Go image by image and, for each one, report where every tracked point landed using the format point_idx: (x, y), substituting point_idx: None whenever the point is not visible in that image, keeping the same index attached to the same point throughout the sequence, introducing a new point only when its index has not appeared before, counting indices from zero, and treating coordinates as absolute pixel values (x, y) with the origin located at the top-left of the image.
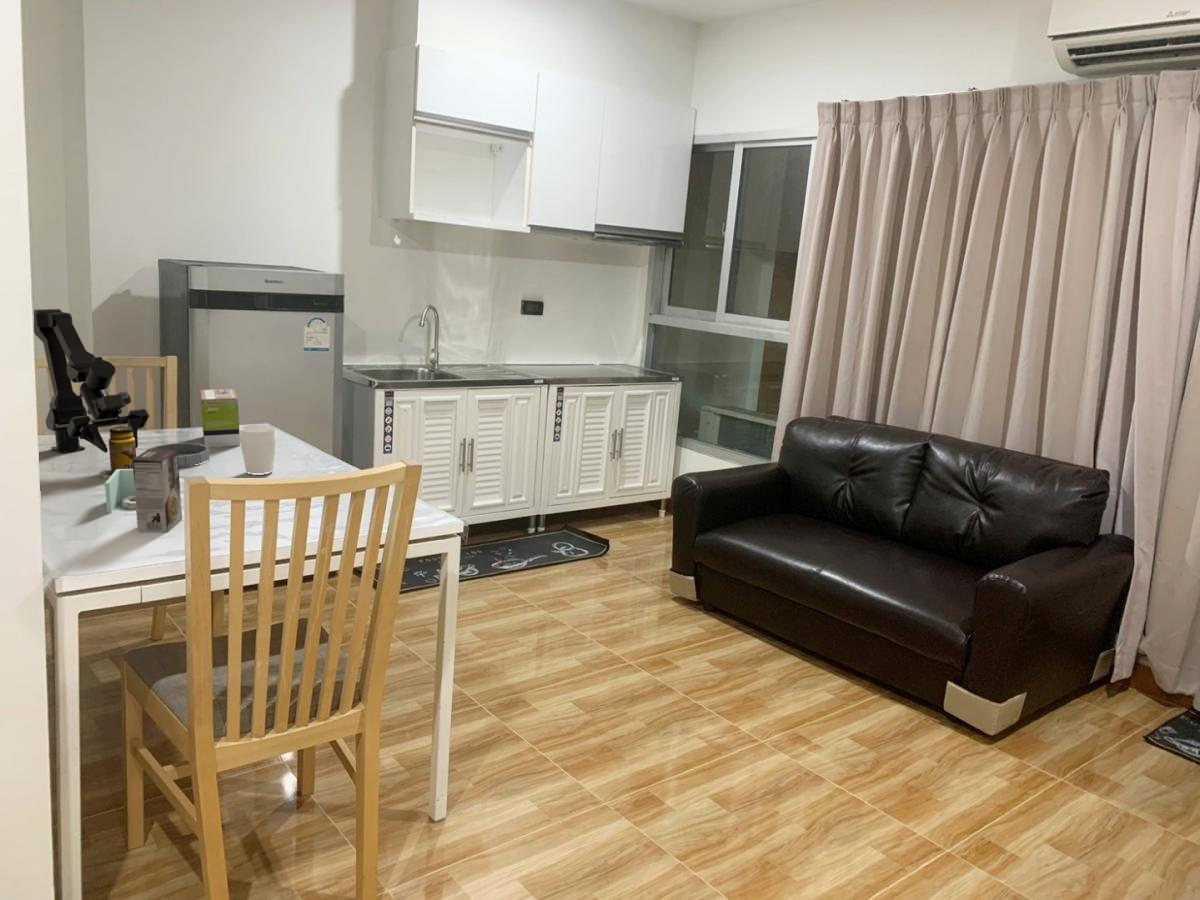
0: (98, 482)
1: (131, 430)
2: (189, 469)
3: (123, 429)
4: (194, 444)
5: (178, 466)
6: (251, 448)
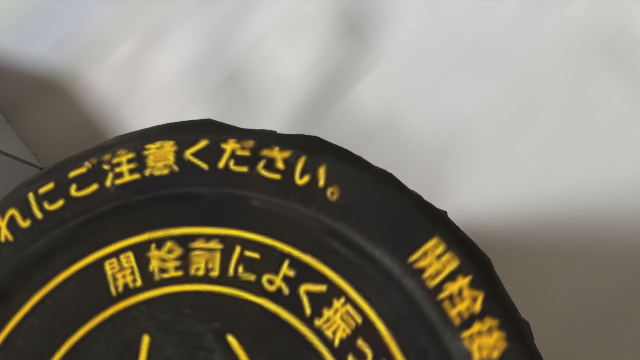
0: (602, 289)
1: (103, 151)
2: (24, 32)
3: (231, 311)
4: None
5: (3, 119)
6: None
